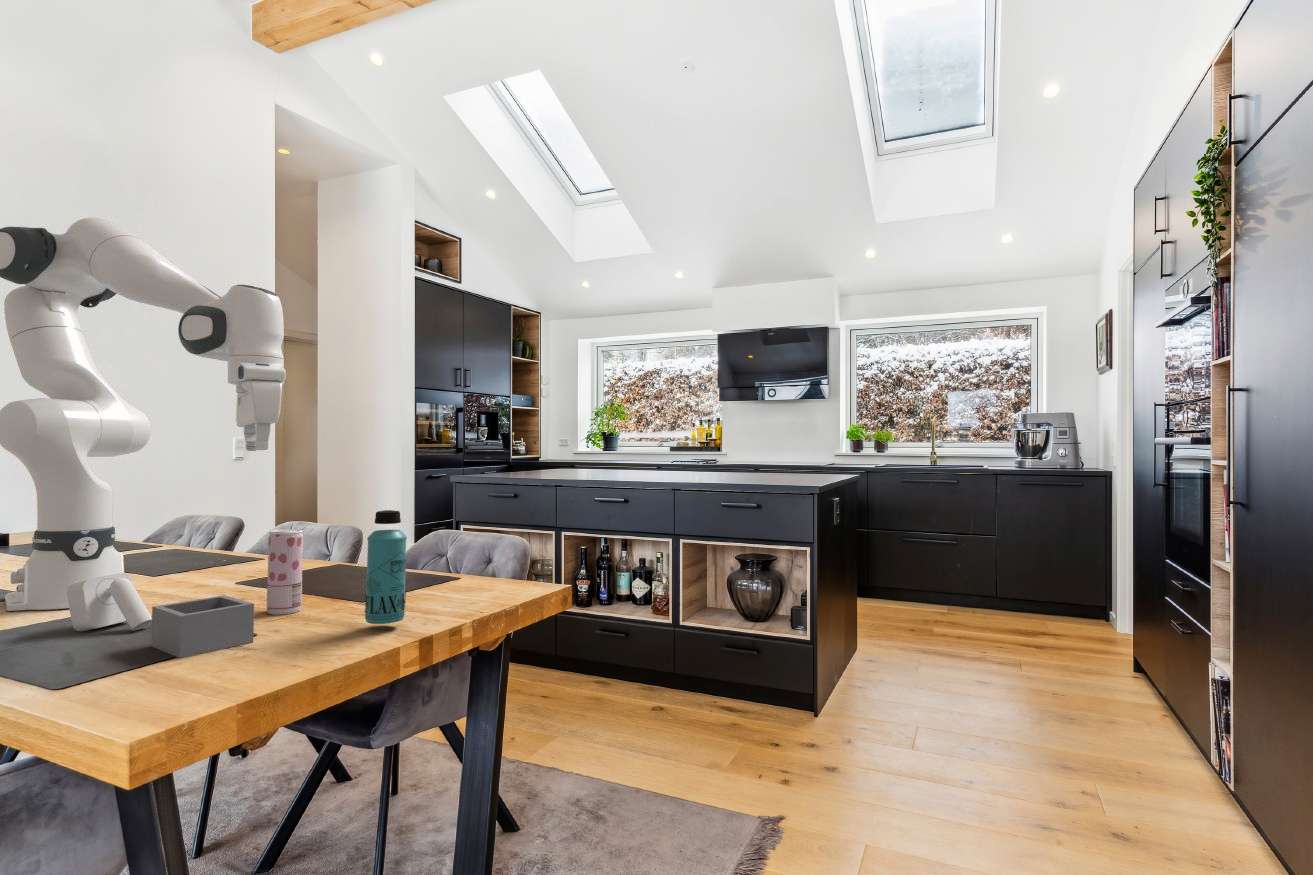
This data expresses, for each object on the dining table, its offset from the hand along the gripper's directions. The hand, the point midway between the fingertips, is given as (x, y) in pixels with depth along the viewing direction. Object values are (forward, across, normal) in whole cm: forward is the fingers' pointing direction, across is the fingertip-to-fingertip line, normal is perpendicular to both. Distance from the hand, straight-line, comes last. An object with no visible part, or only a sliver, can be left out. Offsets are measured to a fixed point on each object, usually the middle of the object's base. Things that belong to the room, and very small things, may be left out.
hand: (256, 450), depth 121 cm
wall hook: (+30, -4, -19) cm, 36 cm away
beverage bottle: (+31, +22, +15) cm, 41 cm away
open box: (+30, +15, -10) cm, 35 cm away
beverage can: (+30, -1, +4) cm, 30 cm away
